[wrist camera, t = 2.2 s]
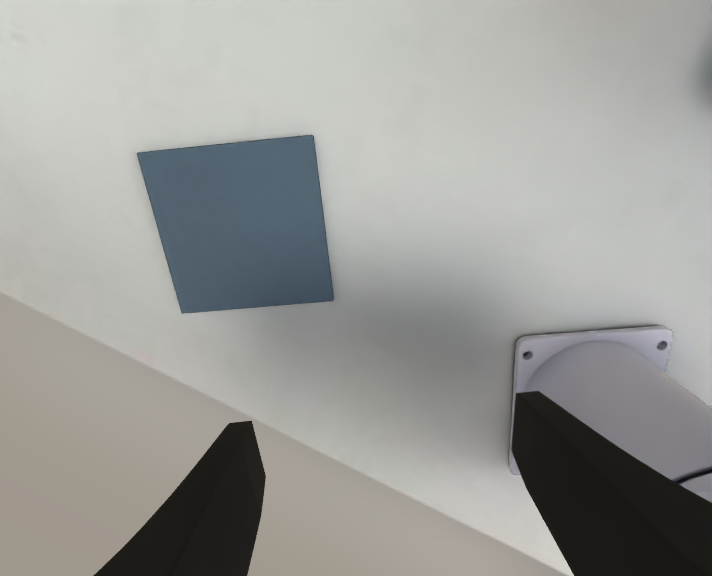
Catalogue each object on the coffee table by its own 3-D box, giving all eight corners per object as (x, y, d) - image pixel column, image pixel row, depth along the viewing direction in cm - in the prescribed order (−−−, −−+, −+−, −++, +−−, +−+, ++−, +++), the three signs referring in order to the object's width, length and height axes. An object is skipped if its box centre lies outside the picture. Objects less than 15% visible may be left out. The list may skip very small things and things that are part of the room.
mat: (333, 298, 20) (333, 301, 20) (184, 310, 21) (181, 314, 20) (313, 134, 17) (312, 134, 17) (140, 152, 18) (135, 152, 17)
